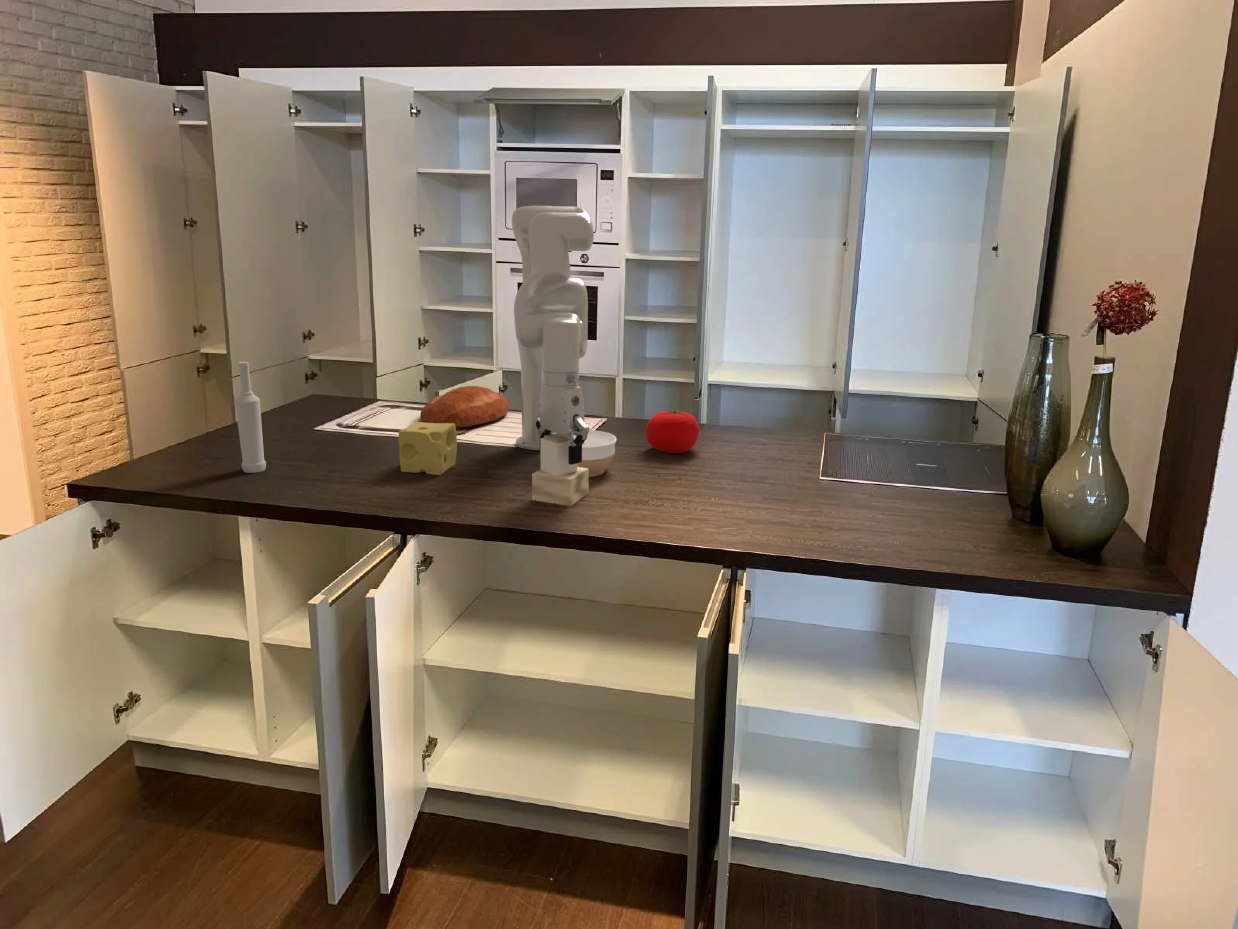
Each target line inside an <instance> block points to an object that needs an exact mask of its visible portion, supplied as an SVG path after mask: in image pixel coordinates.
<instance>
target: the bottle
mask: <svg viewBox="0 0 1238 929" xmlns="http://www.w3.org/2000/svg"><path fill="white" fill-rule="evenodd" d="M249 363H250V362H249V361H238V369H239V377H240V387H241V391H240V393H239V396H238V397H236V398H235V399H234V404H235V411H236V412H235V413H236V422H237V429H238V435H239V444H240V451H241V458H242V462H241V468H242V471H243V472H244V473H249V474H251V473H252V474H255V473H260V472H263V471H265V470H266V467H267V461H266V460H265V456H264V455H265V454H264V443H263V442H264V440H263V427H262V426H263V425H262V411H261V400H260V398H259V397H258V396H257V395H255V394H254V392H253V391H252V386H251V376H250V364H249Z"/></svg>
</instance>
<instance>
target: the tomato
mask: <svg viewBox="0 0 1238 929" xmlns="http://www.w3.org/2000/svg"><path fill="white" fill-rule="evenodd" d="M685 411H686V410H685V409H684V411H683V410H673V409H672V410H669V409H668V410H664V411H663V410H661V411H659V412H656V413H655V414H653V415H652V416H651V417H650V418H649V420H648V421H647V424H646V425H645V426H646V427H645V433H644V434H645V438H646V441H647V443H648V444H649V445H650V446H651V448H653V449H655V450H657V451H660V452H664V453H668V454H681V453H682V454H683V453H686V452H688V451H689V450H691V449H692V448H693V447H694V445H695V444H696V442H697V440H698V438H699V435H700V428H699V423H698V421H697V419H696V417H694V416H693V415H692V414H691V413H688V412H685Z"/></svg>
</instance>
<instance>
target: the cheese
mask: <svg viewBox="0 0 1238 929" xmlns="http://www.w3.org/2000/svg"><path fill="white" fill-rule="evenodd" d="M457 435H458V434H457V428H456V427H455V424H454V423H426V422H423V421H422V422H420V421H416V422H413V423H411V424H410V425H408V426H407V427H405V428H403V429H401V430H399V431H398V454H399V466H400V471H401V472H402V473H414V474H415V473H417V474H418V473H425V474H427V475H435V476H441V475H443V474H444V473H445V472H446V471H447V470H449V469H450V468H452V467H453V466H455V465H456V461H457V460H456V459H457V451H458V450H457V449H458V448H457V447H458V443H457V442H458V439H457Z"/></svg>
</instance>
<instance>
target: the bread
mask: <svg viewBox="0 0 1238 929" xmlns="http://www.w3.org/2000/svg"><path fill="white" fill-rule="evenodd" d="M509 408H510V402H509V400H508V399H506V398H505V396H504V395H503V394H502V393H499V392H497V391H494V390H492V389H490V388H488V387H483V386H479V385H469V386H468V385H467V386H460V387H457V388H454V389H451V390H448V391H447V392H445V393H444V394H441V395H438V396H435V397H434V398H432V399H430V400H429V401H428V402H427V403H425V405H424V406H423V408H422V409H421V411H420V414H419V416H420V417H419V418H420V420H421V421H422V422H423V423H454V424H455V427H456V429H463V428H470V427H475V426H479V425H483V424H487V423H492V422H493V423H494V422H495V421H498V419H500V418H502V417H504V416H505V415H507V414H508V412H509Z"/></svg>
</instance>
